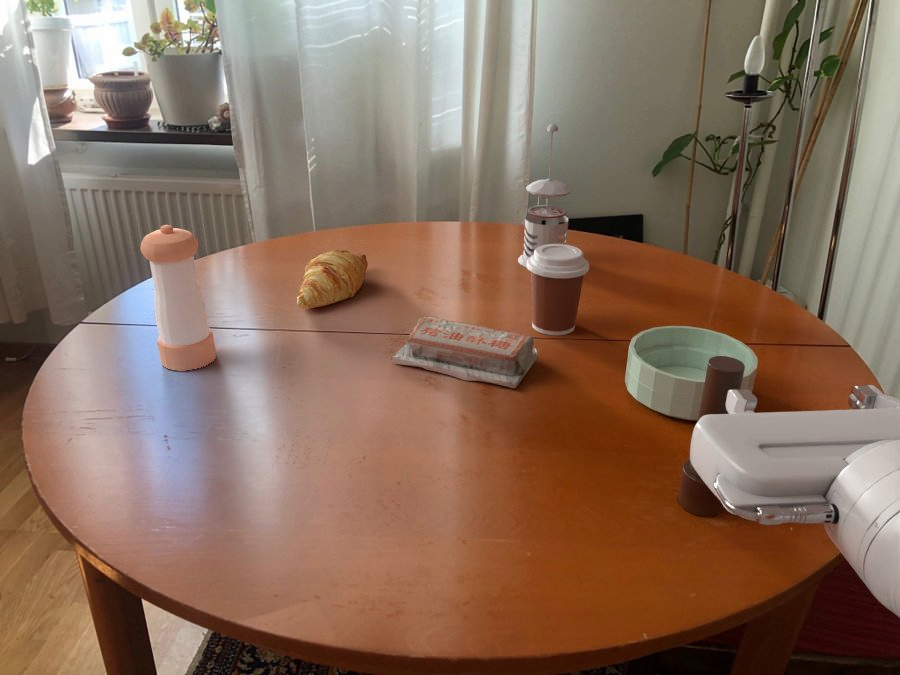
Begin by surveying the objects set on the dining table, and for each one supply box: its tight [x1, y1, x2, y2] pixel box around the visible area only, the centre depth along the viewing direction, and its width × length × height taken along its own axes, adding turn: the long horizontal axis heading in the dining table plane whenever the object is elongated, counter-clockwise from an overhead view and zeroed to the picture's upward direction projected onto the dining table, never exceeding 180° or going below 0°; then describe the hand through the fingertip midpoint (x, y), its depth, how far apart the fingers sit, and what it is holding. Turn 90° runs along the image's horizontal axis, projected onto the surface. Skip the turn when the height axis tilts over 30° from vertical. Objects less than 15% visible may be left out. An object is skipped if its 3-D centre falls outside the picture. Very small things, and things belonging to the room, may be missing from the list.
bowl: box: [624, 325, 759, 422], centre depth 93 cm, size 15×15×6 cm
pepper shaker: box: [139, 224, 217, 372], centre depth 98 cm, size 7×7×19 cm
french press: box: [517, 123, 573, 268], centre depth 134 cm, size 10×12×25 cm
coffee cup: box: [526, 243, 590, 336], centre depth 110 cm, size 9×9×12 cm
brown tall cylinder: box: [677, 356, 745, 518], centre depth 72 cm, size 4×4×16 cm
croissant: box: [296, 250, 369, 310], centre depth 124 cm, size 21×10×8 cm, turn 160°
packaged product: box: [391, 316, 539, 389], centre depth 101 cm, size 18×5×10 cm
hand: (797, 395), depth 55 cm, fingers open, 8 cm apart
